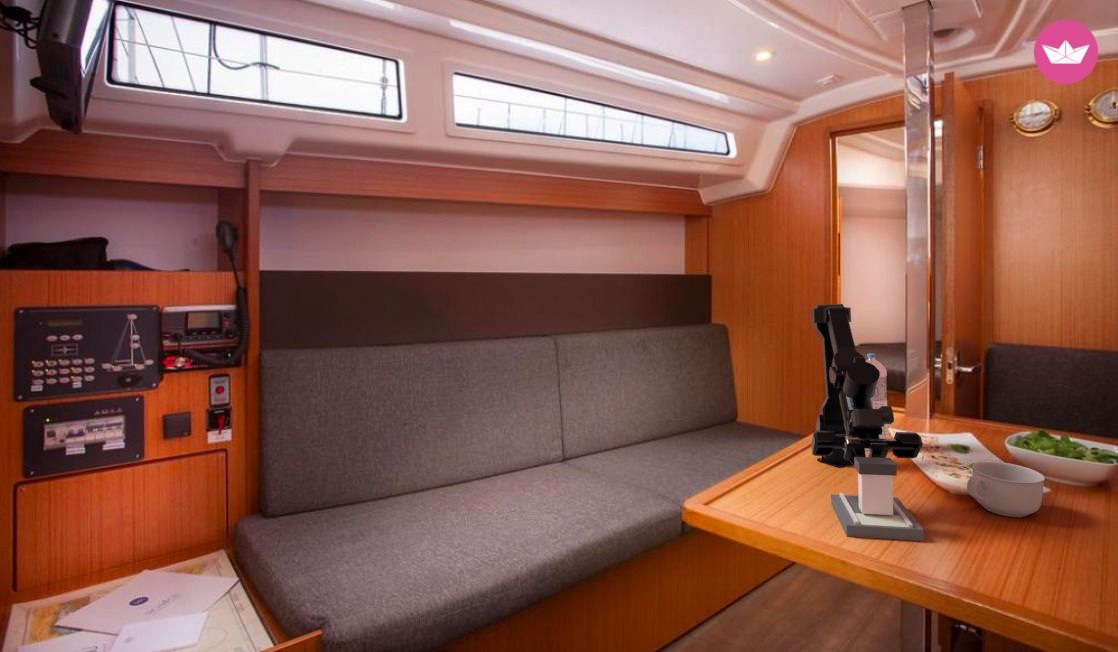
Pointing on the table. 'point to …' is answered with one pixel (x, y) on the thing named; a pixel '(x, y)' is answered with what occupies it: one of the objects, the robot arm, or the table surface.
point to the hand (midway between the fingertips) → (872, 484)
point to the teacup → (1006, 488)
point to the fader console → (876, 520)
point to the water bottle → (879, 390)
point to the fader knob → (875, 484)
